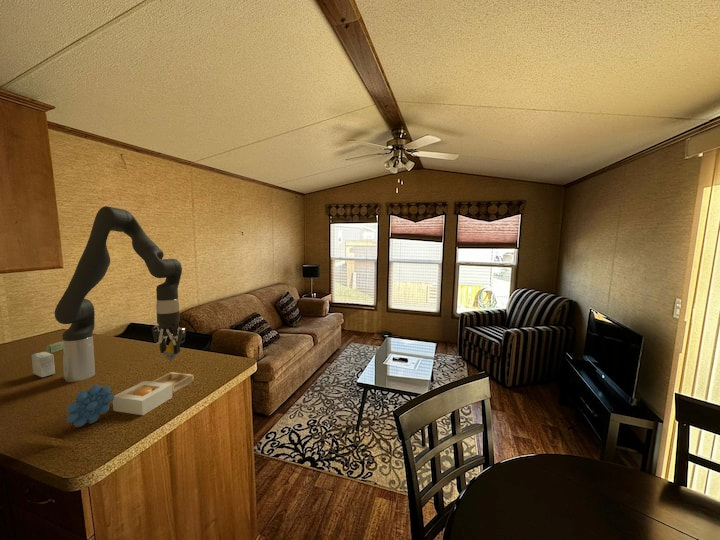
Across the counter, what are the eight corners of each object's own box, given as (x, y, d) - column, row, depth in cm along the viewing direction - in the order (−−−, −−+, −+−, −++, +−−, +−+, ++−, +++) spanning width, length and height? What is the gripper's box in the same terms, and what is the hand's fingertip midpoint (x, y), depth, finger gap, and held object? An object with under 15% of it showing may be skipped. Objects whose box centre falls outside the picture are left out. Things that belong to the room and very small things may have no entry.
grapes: (110, 410, 103) (108, 376, 102) (117, 417, 99) (115, 381, 98) (63, 427, 93) (60, 389, 92) (69, 435, 89) (66, 396, 88)
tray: (147, 391, 116) (147, 384, 116) (170, 378, 127) (170, 372, 126) (172, 394, 114) (171, 387, 113) (193, 381, 124) (193, 374, 124)
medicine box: (55, 373, 130) (54, 354, 129) (41, 377, 126) (39, 357, 125) (46, 370, 133) (45, 351, 132) (32, 374, 129) (30, 354, 128)
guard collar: (113, 410, 103) (112, 396, 102) (145, 393, 114) (144, 380, 114) (142, 415, 100) (142, 400, 100) (172, 397, 112) (171, 384, 111)
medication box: (49, 354, 152) (49, 346, 152) (45, 353, 153) (45, 345, 152) (76, 345, 164) (76, 338, 164) (72, 344, 165) (72, 337, 164)
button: (131, 405, 105) (130, 393, 105) (144, 398, 110) (143, 386, 110) (143, 407, 104) (142, 394, 104) (156, 399, 109) (155, 387, 109)
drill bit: (159, 361, 117) (162, 335, 118) (170, 359, 122) (173, 334, 124) (170, 363, 116) (174, 336, 117) (181, 360, 121) (184, 335, 122)
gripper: (191, 309, 120) (193, 351, 121) (160, 307, 122) (162, 348, 124) (176, 313, 112) (178, 358, 114) (143, 311, 115) (146, 354, 117)
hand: (170, 352), depth 119 cm, fingers closed on drill bit, 5 cm apart
